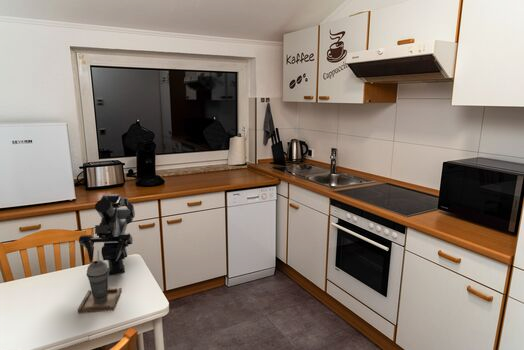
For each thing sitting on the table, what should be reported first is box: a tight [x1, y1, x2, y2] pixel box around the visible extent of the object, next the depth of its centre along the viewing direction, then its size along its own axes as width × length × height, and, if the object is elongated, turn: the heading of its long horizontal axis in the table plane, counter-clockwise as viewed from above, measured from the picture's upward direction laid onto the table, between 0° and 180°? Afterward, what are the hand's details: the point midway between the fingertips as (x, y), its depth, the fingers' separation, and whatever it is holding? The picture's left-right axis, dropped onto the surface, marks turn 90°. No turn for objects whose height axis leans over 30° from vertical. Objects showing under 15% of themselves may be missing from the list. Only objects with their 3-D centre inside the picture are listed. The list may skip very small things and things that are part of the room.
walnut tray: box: [77, 287, 123, 314], centre depth 131 cm, size 12×12×2 cm
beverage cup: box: [86, 249, 109, 304], centre depth 129 cm, size 7×7×20 cm
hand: (103, 261), depth 135 cm, fingers open, 9 cm apart
